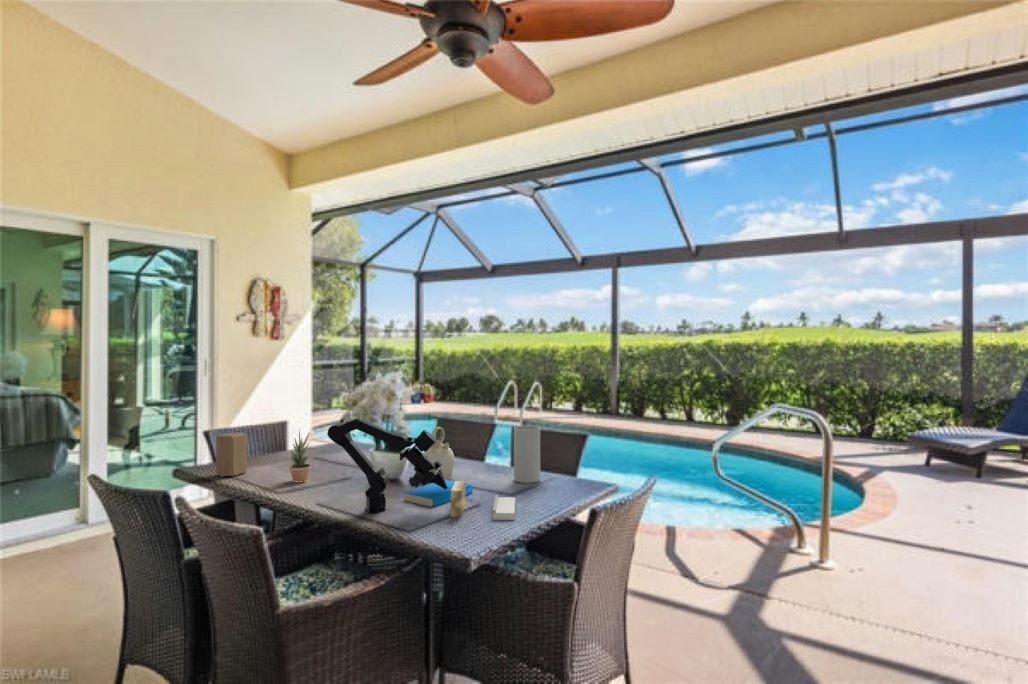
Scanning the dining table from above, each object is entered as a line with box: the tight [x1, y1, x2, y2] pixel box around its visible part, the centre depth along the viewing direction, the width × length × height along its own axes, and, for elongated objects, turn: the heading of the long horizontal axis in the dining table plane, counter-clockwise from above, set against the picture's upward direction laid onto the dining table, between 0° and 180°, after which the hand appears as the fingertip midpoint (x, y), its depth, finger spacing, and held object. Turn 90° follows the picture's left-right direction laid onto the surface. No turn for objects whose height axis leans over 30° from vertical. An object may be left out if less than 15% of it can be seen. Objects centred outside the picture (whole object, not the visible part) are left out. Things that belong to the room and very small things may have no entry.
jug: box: [422, 426, 455, 481], centre depth 263 cm, size 15×16×25 cm
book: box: [403, 480, 474, 508], centre depth 234 cm, size 17×4×25 cm
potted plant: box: [289, 428, 312, 482], centre depth 258 cm, size 10×10×25 cm
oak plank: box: [450, 480, 466, 518], centre depth 214 cm, size 4×14×10 cm, turn 179°
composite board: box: [492, 494, 516, 521], centre depth 214 cm, size 8×20×4 cm, turn 179°
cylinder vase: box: [513, 425, 541, 484], centre depth 261 cm, size 12×12×25 cm
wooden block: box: [215, 431, 248, 477], centre depth 270 cm, size 10×10×20 cm
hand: (446, 488), depth 214 cm, fingers closed
